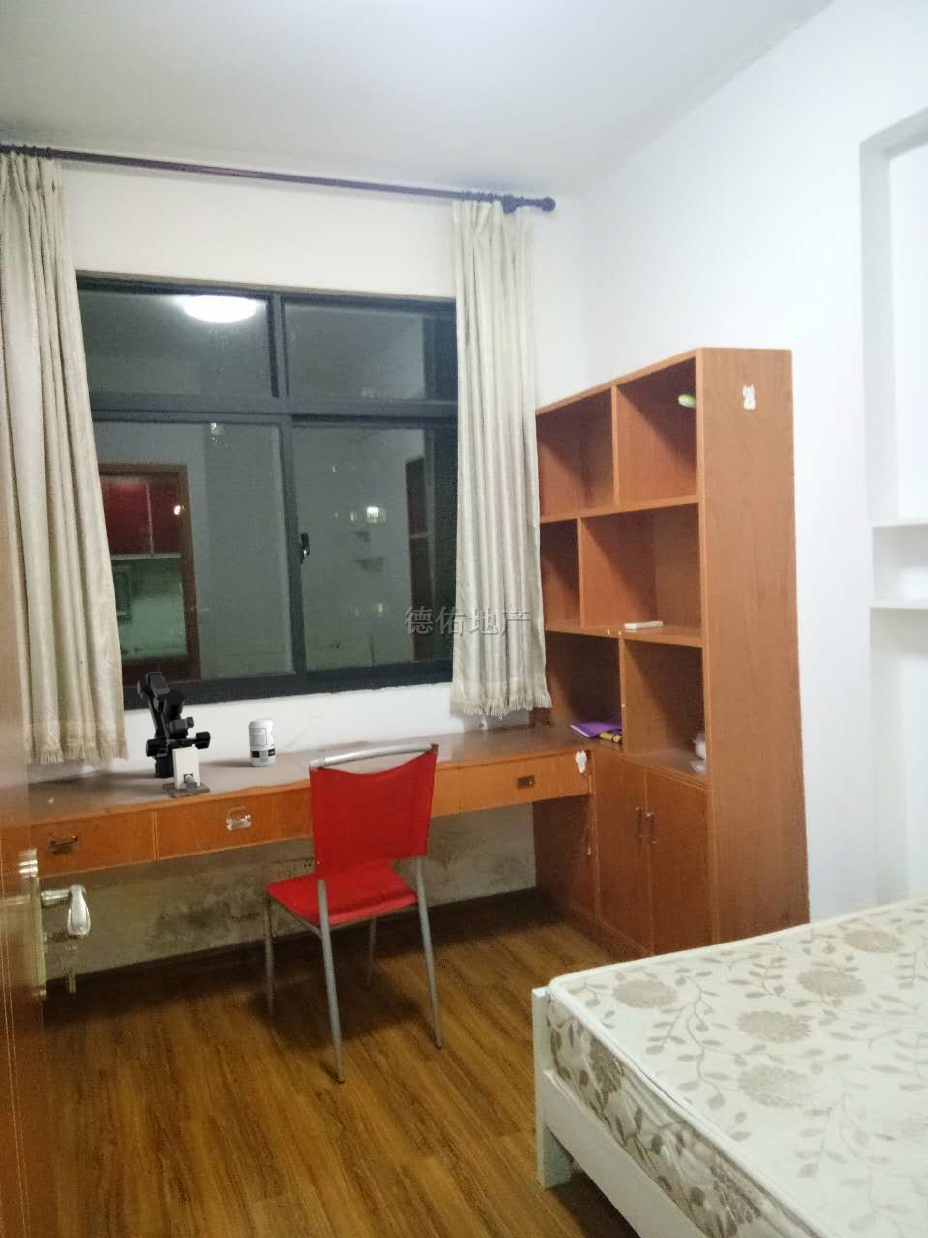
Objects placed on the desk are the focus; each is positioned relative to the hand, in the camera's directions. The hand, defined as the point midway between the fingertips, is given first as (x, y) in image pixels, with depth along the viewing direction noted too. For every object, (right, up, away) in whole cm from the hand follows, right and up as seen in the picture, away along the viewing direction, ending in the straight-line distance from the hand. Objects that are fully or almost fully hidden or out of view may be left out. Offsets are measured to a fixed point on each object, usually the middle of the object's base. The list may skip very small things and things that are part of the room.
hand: (184, 766), depth 263 cm
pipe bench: (0, -7, +1) cm, 7 cm away
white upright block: (+2, -6, -2) cm, 6 cm away
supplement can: (+17, -5, +32) cm, 36 cm away
